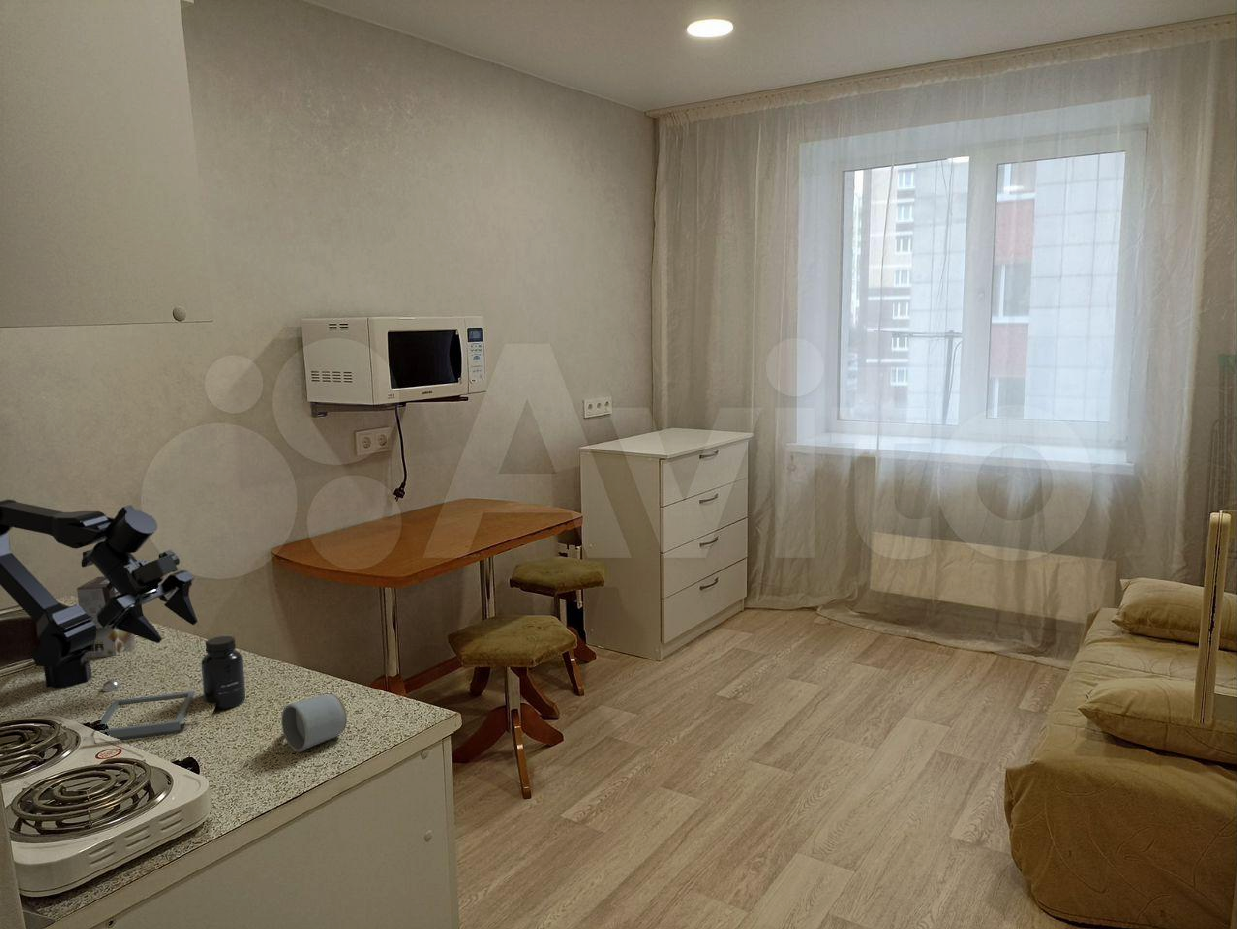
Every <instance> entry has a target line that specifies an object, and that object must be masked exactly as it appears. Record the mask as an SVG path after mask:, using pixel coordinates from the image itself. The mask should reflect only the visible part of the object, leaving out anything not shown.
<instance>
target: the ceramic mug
mask: <svg viewBox="0 0 1237 929" xmlns="http://www.w3.org/2000/svg"><path fill="white" fill-rule="evenodd" d="M281 713H282V714H281V721H280V722H281V729H282V732H283V736H284V738H285V741H286V742H287V744H288V746H289V747H290V748H291V749H292V750H293V751H295V752H297V753H298V752H303V751H305V750H308V749H310V748H313V747H316V746H317V745H321V744H323V743H324V742H327V741H330V740H332V739H335V738H336V737H338V736H339V735H341V734H342V733H343V732H344V731H345V729H346V726H347V721H348V717H347V715H348V714H347V711H346V707H345V705H344V703H343V702H342V700H341V699H340V697H338V696H337V695H335V694H332V693H327V694H321V695H317V696H314V697H311V698H307V699H303V700H300V701H295V702H292V703H289V704H287V705H286V706H284V708H283V710H282V712H281Z"/></svg>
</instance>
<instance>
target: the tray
mask: <svg viewBox="0 0 1237 929" xmlns="http://www.w3.org/2000/svg"><path fill="white" fill-rule="evenodd" d="M195 694H196V693H195V690H193V691H191V690H190V691H183V692H177V693H167V694H158V695H150V696H149V695H148V696H142V697H133V698H125V699H124V698H123V699H117V700H114V702H113V703H112V704H111V706H110V707H109V709H108V711H107V712H106V713H105V715H104V716H103V718H102V719H101V721H100V722H99V723H102V724H105V726H106V725H107V724H108V722H109V721H110V719H111V718H112V716H113V715H114V713H115V712H116V710H117V709H118V708H119V705H126V704H127V705H128V704H136V703H143V702H151V701H161V700H169V699H178V698H185V697H186V698H185V700H184V702H183V704H182V706H181V708H180V710H179V712H178V715H177V716H176V718H175V720H168V721H161V722H153V723H144V724H137V725H127V726H121V727H120V726H119V727H114V728H113V727H111V728H106V729H105V728H104V729H105V730H100V732H102V733H105V732H107V734H108V735H110V736H111V737H114V738H117V739H120V740H122V741H127V740H128V741H129V740H136V739H137V740H138V739H143V738H151V737H159V736H168V735H174V734H175V735H176V734H181V733H182V731H183V729H184V727H185V725H186V723H185V722H184V723H182V721H183V719H184V717H185V715H186V713H187V711H188V710H189V707H190V704H191V702H192V701H193V699H194V696H195Z"/></svg>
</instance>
